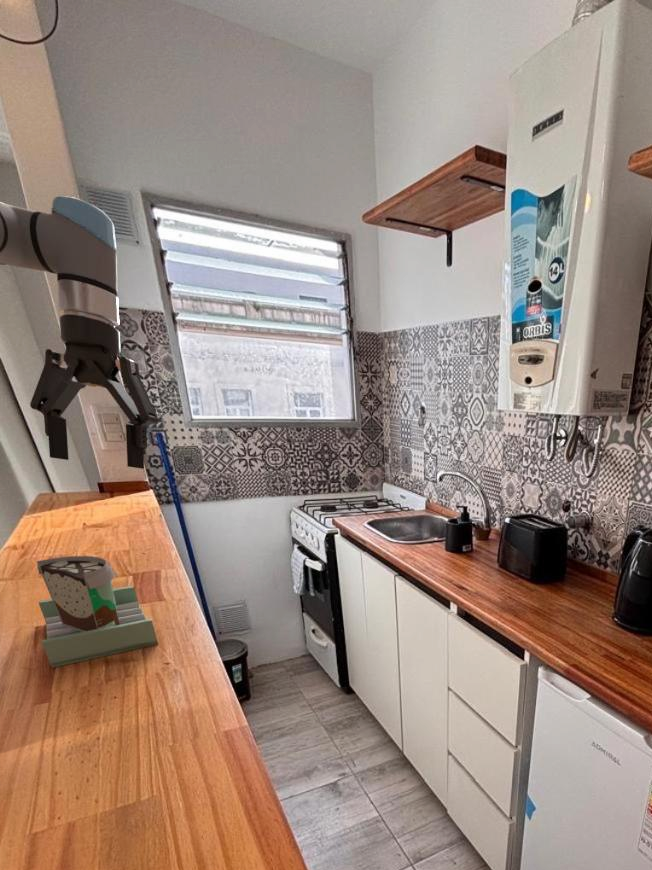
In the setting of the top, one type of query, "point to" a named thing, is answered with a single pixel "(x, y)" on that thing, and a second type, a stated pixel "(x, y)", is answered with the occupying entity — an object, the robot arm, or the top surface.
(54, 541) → the top surface
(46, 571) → the food container
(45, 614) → the dish rack
